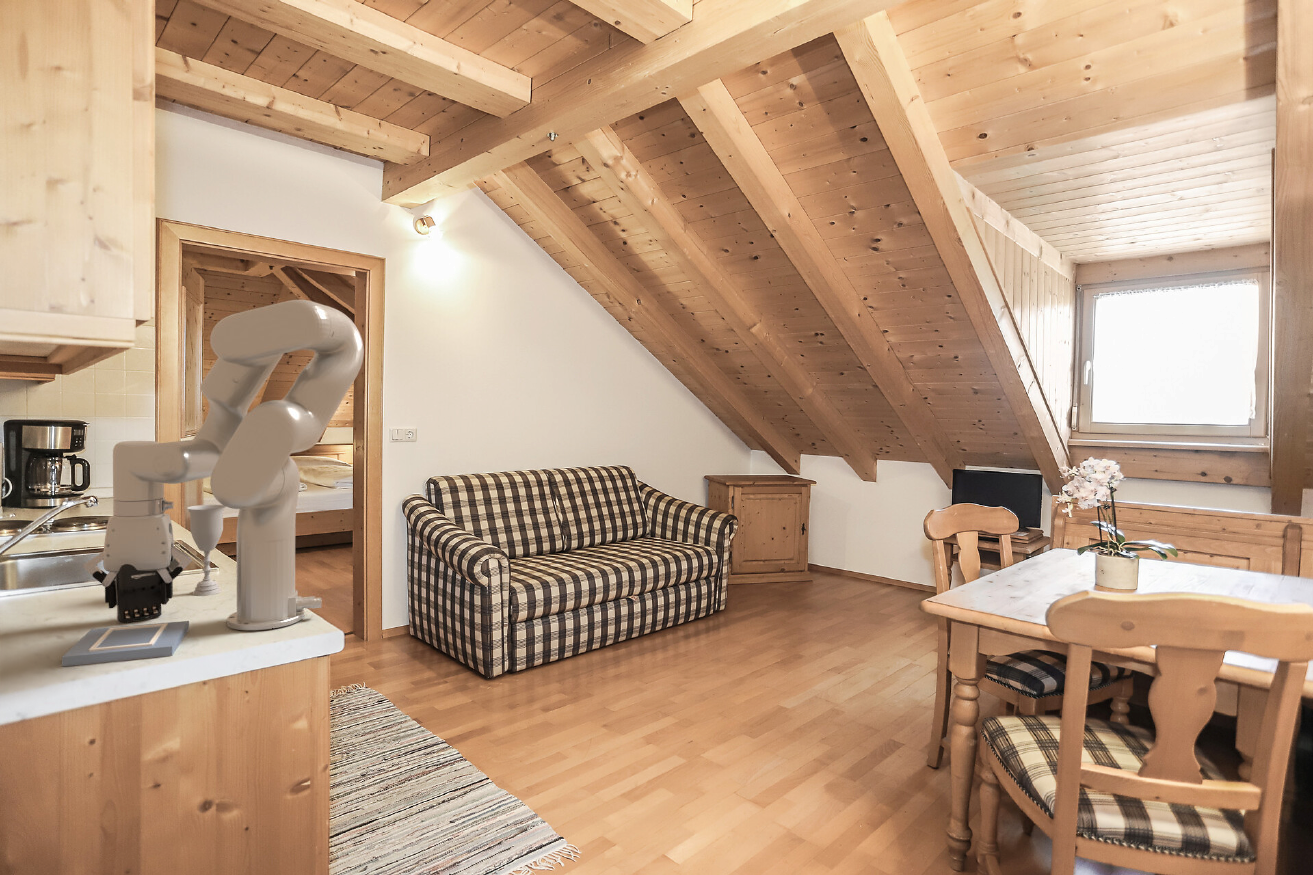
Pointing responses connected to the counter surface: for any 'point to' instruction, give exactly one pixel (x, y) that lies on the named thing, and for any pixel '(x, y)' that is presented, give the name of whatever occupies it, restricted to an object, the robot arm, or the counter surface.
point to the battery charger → (137, 594)
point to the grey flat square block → (126, 643)
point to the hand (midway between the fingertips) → (139, 603)
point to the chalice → (206, 540)
